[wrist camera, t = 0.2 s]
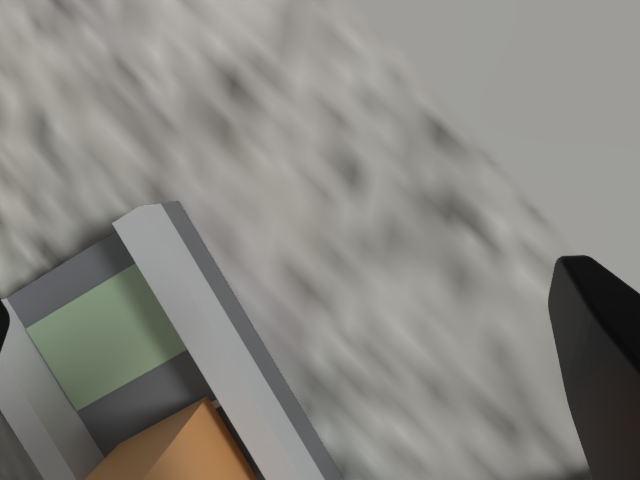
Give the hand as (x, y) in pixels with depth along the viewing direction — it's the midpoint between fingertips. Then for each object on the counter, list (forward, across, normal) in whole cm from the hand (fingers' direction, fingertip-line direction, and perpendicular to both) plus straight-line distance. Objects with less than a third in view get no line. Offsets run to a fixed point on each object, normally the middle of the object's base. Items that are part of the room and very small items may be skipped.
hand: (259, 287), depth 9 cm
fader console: (+7, +6, +16) cm, 19 cm away
